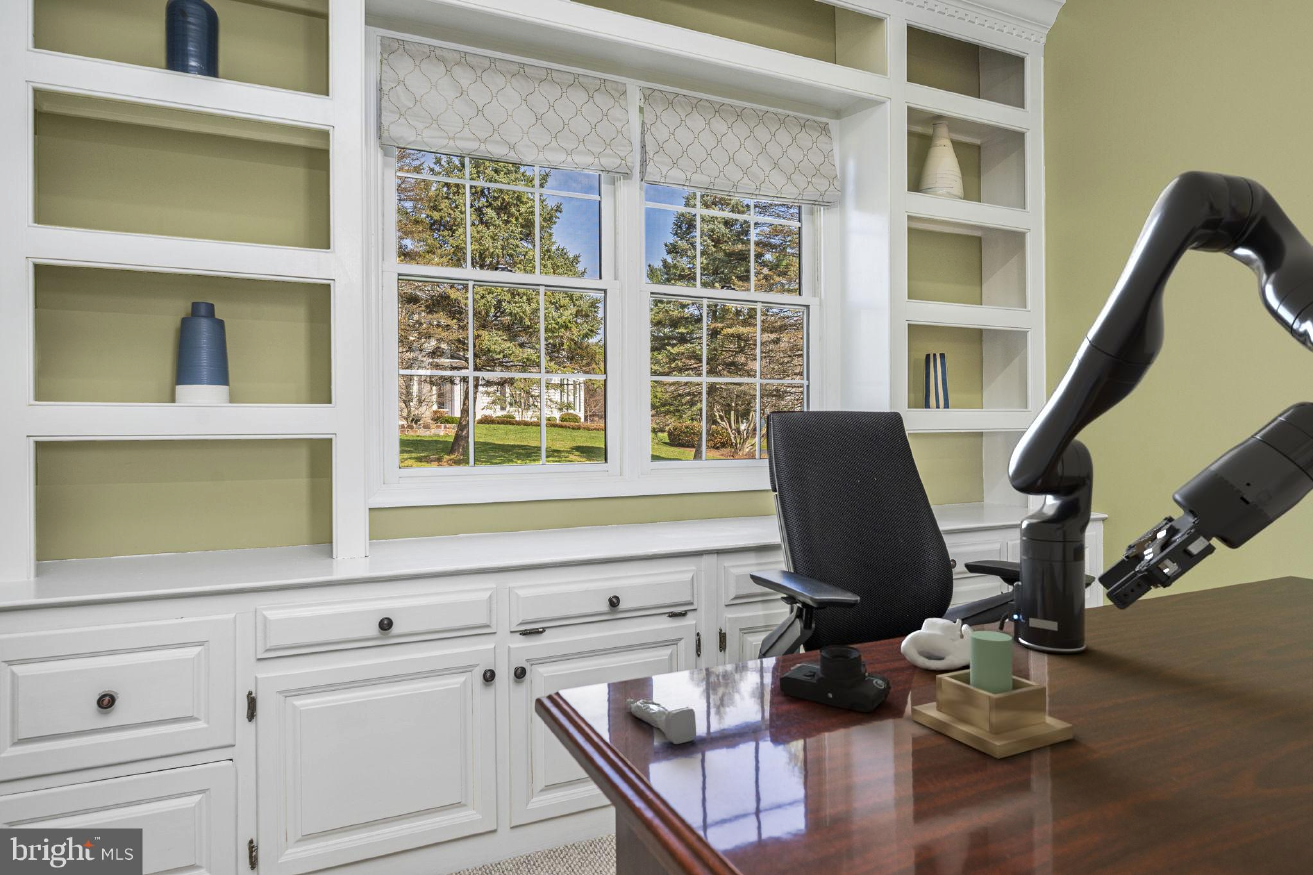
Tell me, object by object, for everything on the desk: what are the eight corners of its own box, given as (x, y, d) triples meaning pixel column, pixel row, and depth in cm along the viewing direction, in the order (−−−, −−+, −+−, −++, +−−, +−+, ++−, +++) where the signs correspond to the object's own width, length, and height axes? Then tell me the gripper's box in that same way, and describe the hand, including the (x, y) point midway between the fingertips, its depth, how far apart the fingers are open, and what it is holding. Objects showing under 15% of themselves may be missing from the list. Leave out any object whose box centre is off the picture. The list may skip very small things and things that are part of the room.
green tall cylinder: (961, 710, 86) (961, 633, 86) (988, 704, 88) (988, 628, 88) (993, 724, 82) (994, 642, 82) (1020, 717, 84) (1021, 638, 84)
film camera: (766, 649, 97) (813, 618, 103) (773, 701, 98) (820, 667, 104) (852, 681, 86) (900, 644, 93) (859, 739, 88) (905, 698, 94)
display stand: (911, 719, 88) (911, 672, 88) (982, 703, 93) (983, 659, 93) (998, 759, 77) (998, 706, 77) (1073, 738, 83) (1073, 689, 83)
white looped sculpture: (899, 671, 106) (889, 615, 111) (948, 689, 113) (937, 635, 117) (953, 656, 101) (940, 597, 106) (1001, 675, 107) (987, 619, 112)
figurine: (672, 746, 80) (668, 713, 80) (618, 721, 90) (615, 692, 91) (698, 738, 82) (695, 705, 82) (642, 714, 92) (640, 686, 92)
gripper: (1194, 462, 83) (1075, 557, 88) (1227, 468, 70) (1085, 579, 75) (1253, 512, 80) (1127, 607, 86) (1298, 528, 68) (1147, 638, 73)
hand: (1108, 594), depth 80 cm, fingers open, 8 cm apart
